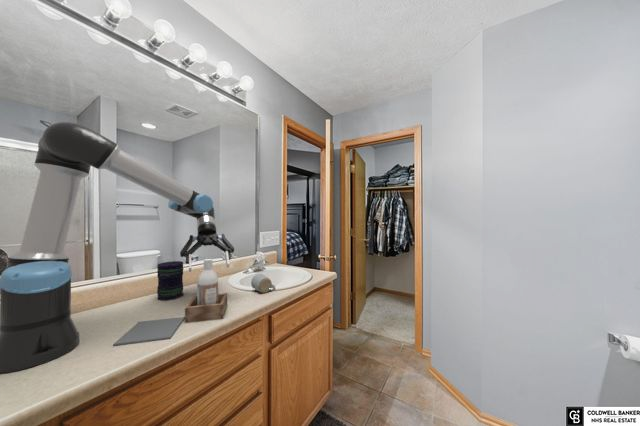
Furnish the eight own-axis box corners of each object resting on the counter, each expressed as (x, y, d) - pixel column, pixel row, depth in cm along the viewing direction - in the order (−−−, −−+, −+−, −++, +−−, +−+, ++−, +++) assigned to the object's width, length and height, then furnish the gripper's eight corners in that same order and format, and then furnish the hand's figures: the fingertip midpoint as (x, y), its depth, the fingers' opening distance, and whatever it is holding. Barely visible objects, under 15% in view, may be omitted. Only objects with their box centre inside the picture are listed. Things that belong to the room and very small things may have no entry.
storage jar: (159, 294, 104) (160, 262, 105) (184, 291, 109) (184, 260, 109) (154, 302, 95) (154, 266, 96) (181, 298, 100) (182, 264, 100)
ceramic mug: (258, 295, 103) (259, 278, 104) (250, 290, 110) (251, 274, 110) (278, 290, 111) (279, 274, 111) (270, 286, 117) (270, 271, 117)
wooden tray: (184, 322, 77) (184, 308, 77) (194, 308, 88) (194, 296, 88) (223, 318, 80) (223, 304, 80) (227, 305, 92) (227, 293, 92)
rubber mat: (113, 346, 63) (113, 344, 63) (138, 323, 77) (138, 321, 77) (170, 338, 67) (170, 337, 67) (185, 318, 80) (185, 316, 80)
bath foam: (200, 319, 79) (200, 262, 79) (194, 313, 84) (194, 259, 84) (221, 313, 84) (221, 259, 84) (214, 308, 89) (214, 257, 89)
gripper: (234, 232, 112) (241, 269, 99) (174, 234, 99) (172, 277, 86) (236, 221, 107) (243, 258, 94) (173, 223, 95) (172, 266, 82)
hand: (209, 267), depth 90 cm, fingers open, 13 cm apart
